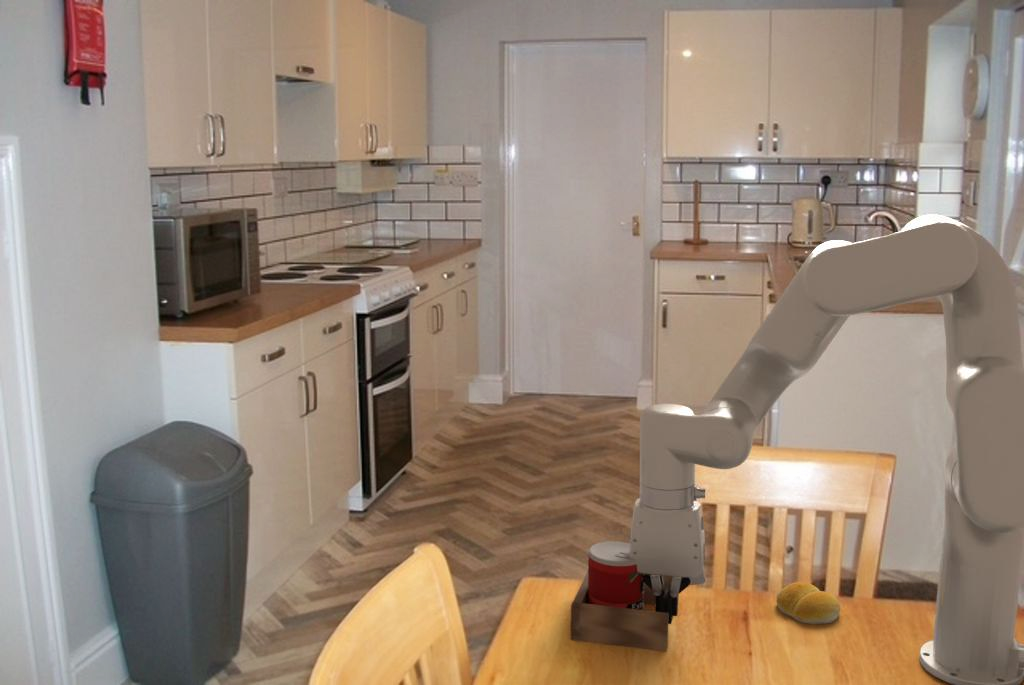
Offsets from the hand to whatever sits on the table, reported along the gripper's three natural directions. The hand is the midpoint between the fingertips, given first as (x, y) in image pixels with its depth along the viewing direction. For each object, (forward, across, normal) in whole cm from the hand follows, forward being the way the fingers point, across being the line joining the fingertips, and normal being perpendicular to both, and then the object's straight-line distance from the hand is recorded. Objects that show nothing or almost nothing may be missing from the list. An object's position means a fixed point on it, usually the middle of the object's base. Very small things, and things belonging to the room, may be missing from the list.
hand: (666, 619), depth 148 cm
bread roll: (+3, -19, -12) cm, 23 cm away
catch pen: (+2, +5, -2) cm, 6 cm away
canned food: (+2, +7, 0) cm, 8 cm away
